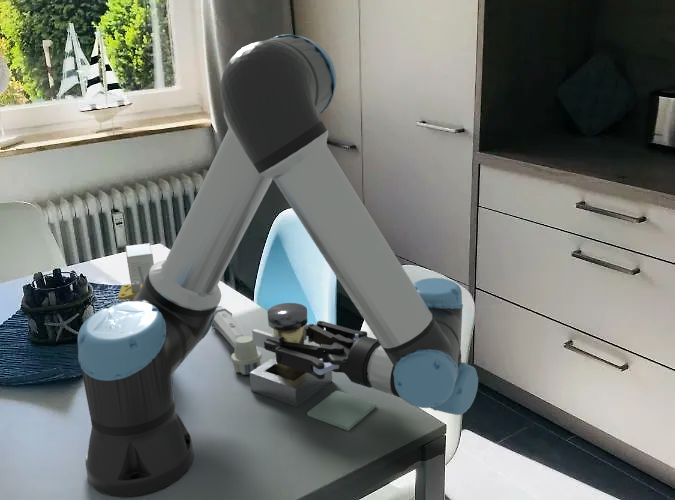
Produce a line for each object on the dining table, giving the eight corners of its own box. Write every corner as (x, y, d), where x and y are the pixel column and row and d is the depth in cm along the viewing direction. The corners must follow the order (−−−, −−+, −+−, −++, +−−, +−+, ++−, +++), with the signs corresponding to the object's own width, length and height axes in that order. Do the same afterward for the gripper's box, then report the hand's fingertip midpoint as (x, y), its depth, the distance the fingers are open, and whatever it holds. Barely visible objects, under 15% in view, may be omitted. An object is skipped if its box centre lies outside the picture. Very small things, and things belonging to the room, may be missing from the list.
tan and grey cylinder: (295, 398, 120) (290, 322, 116) (265, 387, 124) (259, 313, 119) (318, 381, 125) (314, 308, 121) (289, 371, 129) (284, 299, 124)
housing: (296, 407, 118) (295, 388, 117) (251, 390, 124) (249, 372, 123) (332, 380, 126) (331, 363, 125) (287, 366, 131) (286, 349, 130)
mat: (348, 430, 111) (348, 427, 111) (307, 415, 116) (307, 412, 116) (376, 406, 117) (376, 403, 117) (336, 393, 122) (336, 390, 122)
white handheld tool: (229, 302, 150) (262, 335, 127) (232, 333, 152) (266, 371, 129) (204, 307, 148) (233, 341, 126) (208, 338, 150) (238, 377, 127)
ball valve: (110, 337, 146) (102, 291, 143) (116, 315, 156) (110, 272, 152) (173, 330, 148) (167, 285, 144) (176, 310, 157) (170, 267, 154)
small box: (131, 287, 170) (125, 245, 167) (155, 284, 172) (150, 242, 168) (132, 300, 163) (126, 256, 159) (158, 296, 164) (152, 253, 161)
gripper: (346, 413, 106) (231, 371, 119) (408, 362, 120) (298, 330, 133) (345, 368, 104) (227, 330, 117) (408, 321, 117) (296, 292, 130)
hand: (265, 330), depth 125 cm, fingers closed on tan and grey cylinder, 5 cm apart
